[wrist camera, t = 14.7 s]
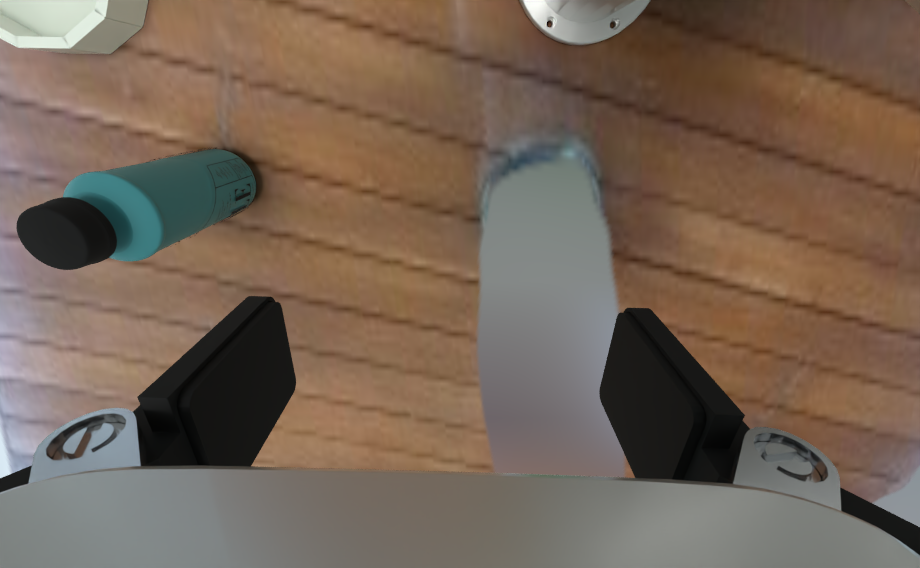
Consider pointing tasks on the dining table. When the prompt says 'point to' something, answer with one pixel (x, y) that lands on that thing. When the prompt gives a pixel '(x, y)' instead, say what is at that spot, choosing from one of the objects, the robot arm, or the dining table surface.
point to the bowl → (71, 24)
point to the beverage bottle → (136, 209)
